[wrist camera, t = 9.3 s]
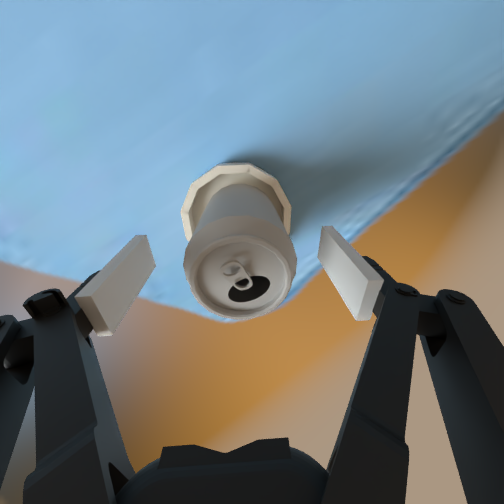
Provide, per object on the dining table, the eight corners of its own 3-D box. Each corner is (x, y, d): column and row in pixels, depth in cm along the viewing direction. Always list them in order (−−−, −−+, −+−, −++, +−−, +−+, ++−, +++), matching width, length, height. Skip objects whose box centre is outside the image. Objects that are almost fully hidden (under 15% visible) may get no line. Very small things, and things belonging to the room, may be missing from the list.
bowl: (178, 164, 21) (171, 167, 19) (288, 160, 21) (294, 162, 19) (196, 259, 26) (192, 270, 24) (284, 254, 26) (287, 265, 24)
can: (229, 257, 25) (221, 343, 15) (191, 204, 22) (147, 266, 11) (285, 229, 24) (321, 301, 13) (254, 167, 21) (270, 199, 10)
